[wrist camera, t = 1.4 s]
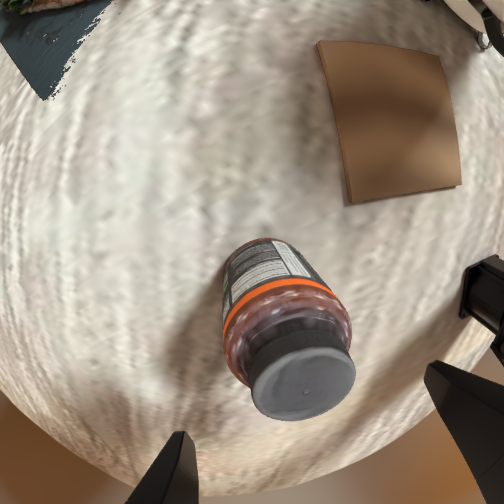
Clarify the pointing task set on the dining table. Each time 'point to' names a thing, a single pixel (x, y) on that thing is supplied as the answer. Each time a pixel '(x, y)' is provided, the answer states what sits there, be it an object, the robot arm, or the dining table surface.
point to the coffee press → (482, 19)
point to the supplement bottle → (285, 332)
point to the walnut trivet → (391, 119)
